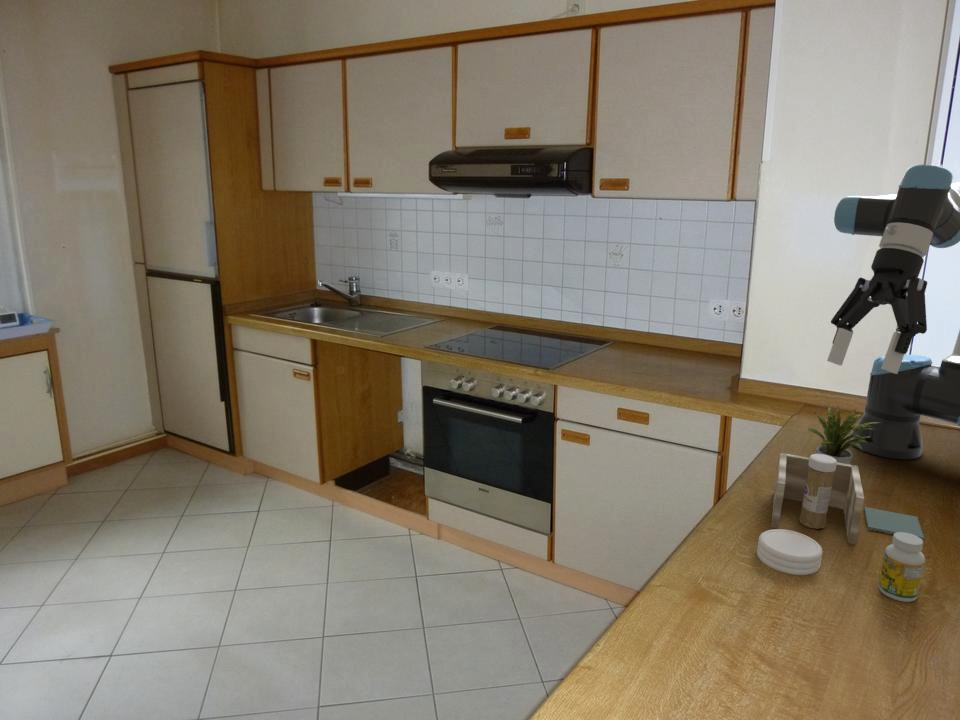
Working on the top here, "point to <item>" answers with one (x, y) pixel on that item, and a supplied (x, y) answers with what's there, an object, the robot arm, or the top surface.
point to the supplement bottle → (902, 567)
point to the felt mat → (892, 522)
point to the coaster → (789, 552)
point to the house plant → (839, 435)
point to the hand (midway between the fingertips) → (860, 367)
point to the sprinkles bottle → (817, 490)
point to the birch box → (842, 492)
